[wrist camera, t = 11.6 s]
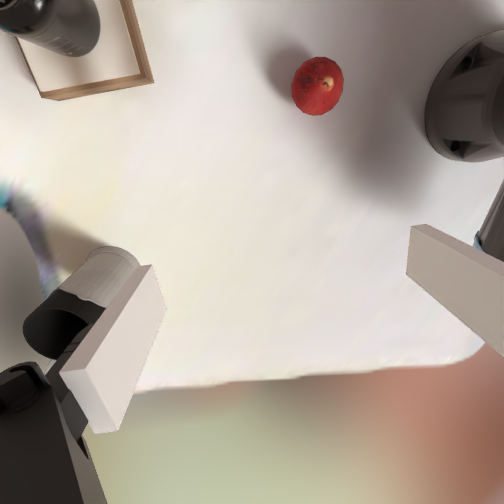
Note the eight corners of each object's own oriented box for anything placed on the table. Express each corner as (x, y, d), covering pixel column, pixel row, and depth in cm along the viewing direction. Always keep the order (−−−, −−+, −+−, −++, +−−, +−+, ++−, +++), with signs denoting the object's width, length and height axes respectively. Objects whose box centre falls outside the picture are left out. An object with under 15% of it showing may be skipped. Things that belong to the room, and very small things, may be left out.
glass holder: (151, 262, 43) (113, 323, 30) (118, 325, 48) (72, 403, 34) (95, 236, 41) (27, 289, 27) (67, 305, 46) (-4, 380, 32)
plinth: (118, -49, 29) (101, -75, 25) (154, 82, 34) (144, 77, 30) (7, -28, 29) (-26, -51, 25) (59, 100, 34) (38, 97, 30)
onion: (279, 107, 36) (292, 101, 28) (296, 56, 33) (314, 36, 26) (319, 123, 37) (341, 121, 29) (338, 75, 35) (366, 60, 27)
